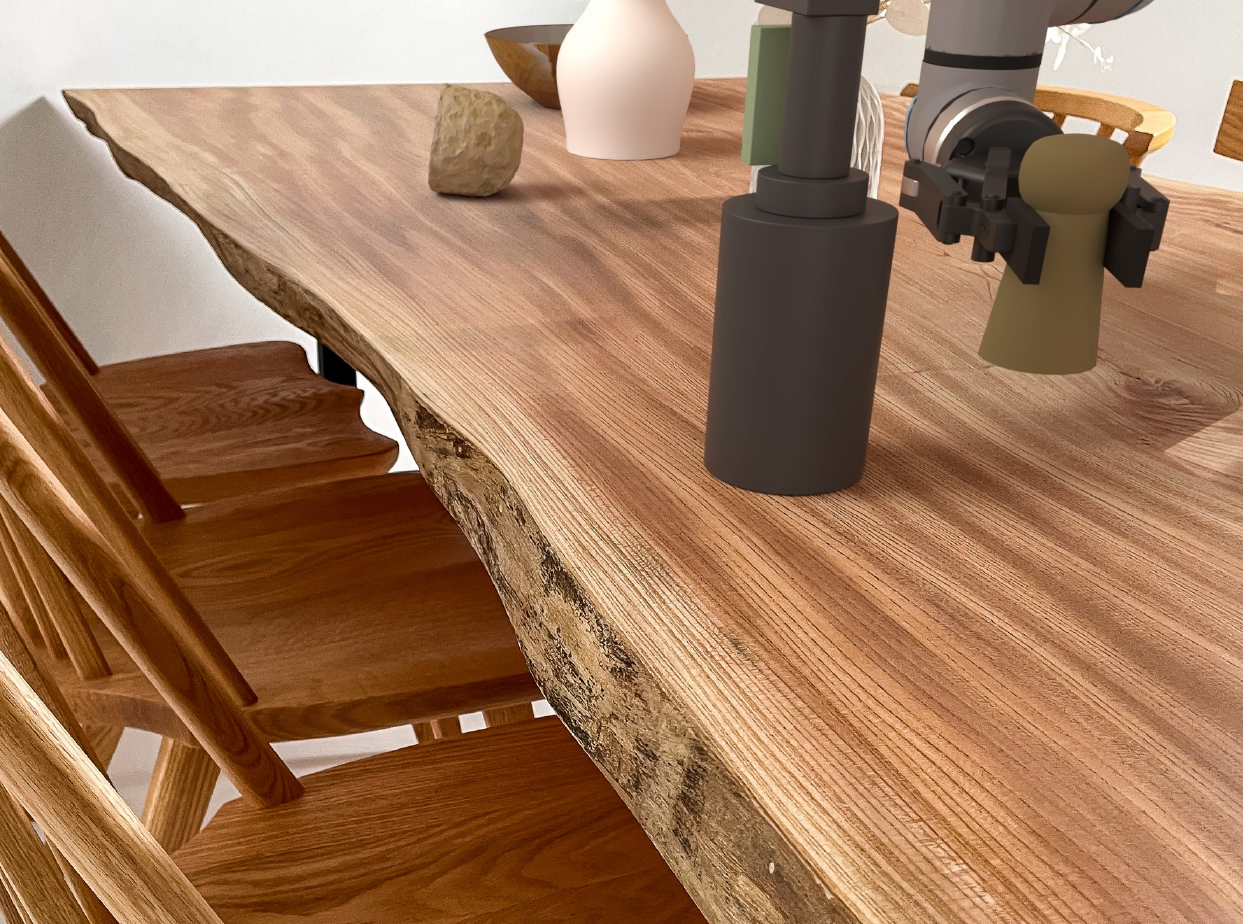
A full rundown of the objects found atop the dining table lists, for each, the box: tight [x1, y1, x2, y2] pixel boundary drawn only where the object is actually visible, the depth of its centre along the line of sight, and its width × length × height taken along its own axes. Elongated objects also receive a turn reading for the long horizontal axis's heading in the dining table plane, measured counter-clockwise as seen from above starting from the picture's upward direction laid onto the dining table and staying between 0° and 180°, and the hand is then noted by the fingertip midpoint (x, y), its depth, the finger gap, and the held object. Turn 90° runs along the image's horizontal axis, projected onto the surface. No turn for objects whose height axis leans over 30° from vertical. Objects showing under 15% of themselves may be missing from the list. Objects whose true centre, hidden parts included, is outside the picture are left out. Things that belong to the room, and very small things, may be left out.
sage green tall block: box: [740, 23, 791, 167], centre depth 67 cm, size 1×3×6 cm, turn 100°
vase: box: [557, 0, 696, 161], centre depth 143 cm, size 14×14×20 cm
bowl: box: [483, 23, 689, 110], centre depth 174 cm, size 25×25×8 cm
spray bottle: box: [703, 0, 900, 496], centre depth 65 cm, size 10×8×24 cm
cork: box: [977, 132, 1131, 376], centre depth 72 cm, size 6×6×11 cm
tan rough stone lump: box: [427, 82, 525, 197], centre depth 126 cm, size 10×10×10 cm
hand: (1088, 257), depth 66 cm, fingers closed on cork, 4 cm apart
